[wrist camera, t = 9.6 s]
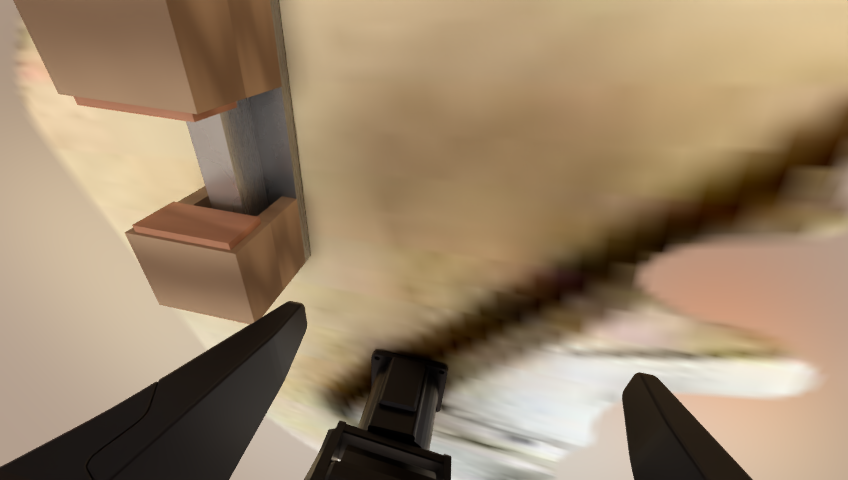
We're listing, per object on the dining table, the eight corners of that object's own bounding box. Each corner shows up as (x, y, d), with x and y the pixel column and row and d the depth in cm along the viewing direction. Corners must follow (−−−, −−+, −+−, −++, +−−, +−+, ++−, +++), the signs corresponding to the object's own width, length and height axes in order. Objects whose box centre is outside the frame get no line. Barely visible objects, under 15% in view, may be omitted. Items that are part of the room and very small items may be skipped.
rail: (310, 255, 25) (288, 284, 22) (234, 241, 26) (203, 267, 23) (268, -79, 15) (217, -99, 12) (144, -89, 15) (70, -110, 13)
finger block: (283, 94, 18) (200, 124, 13) (179, 80, 19) (63, 104, 14) (264, -38, 15) (148, -63, 10) (142, -49, 16) (-24, -78, 11)
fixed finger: (305, 261, 24) (255, 325, 19) (227, 247, 25) (159, 304, 20) (296, 193, 21) (233, 247, 16) (207, 177, 22) (121, 225, 17)
